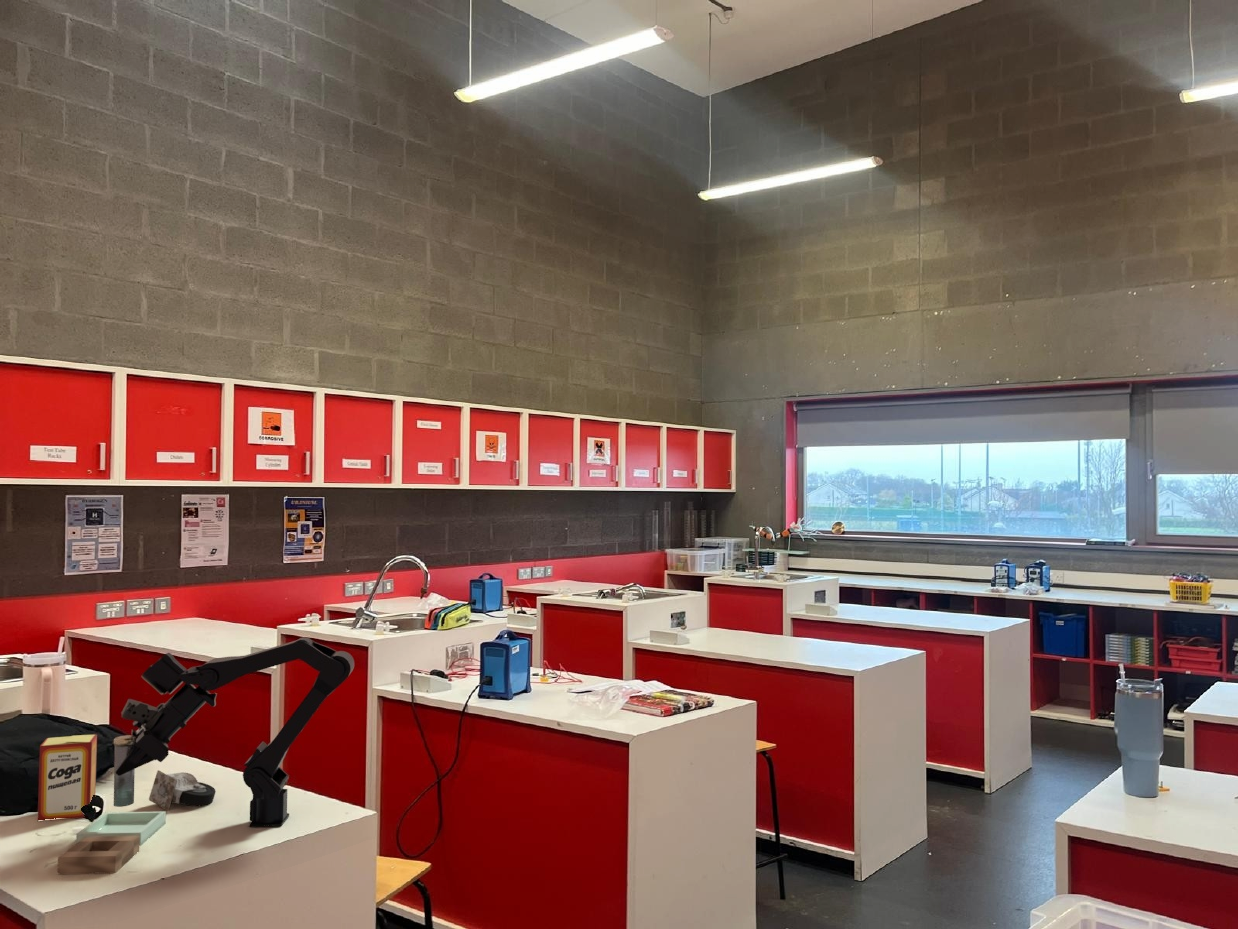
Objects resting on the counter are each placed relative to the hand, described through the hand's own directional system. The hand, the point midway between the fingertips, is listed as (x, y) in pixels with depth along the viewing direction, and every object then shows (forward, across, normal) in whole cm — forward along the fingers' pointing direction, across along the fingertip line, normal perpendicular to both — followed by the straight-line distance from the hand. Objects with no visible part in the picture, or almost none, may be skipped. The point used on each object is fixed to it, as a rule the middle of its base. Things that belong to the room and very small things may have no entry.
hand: (116, 771), depth 185 cm
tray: (+8, 0, +10) cm, 13 cm away
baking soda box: (+15, -19, +3) cm, 25 cm away
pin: (+4, 0, +6) cm, 7 cm away
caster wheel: (-1, -15, +19) cm, 24 cm away
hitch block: (+11, +14, +7) cm, 19 cm away
